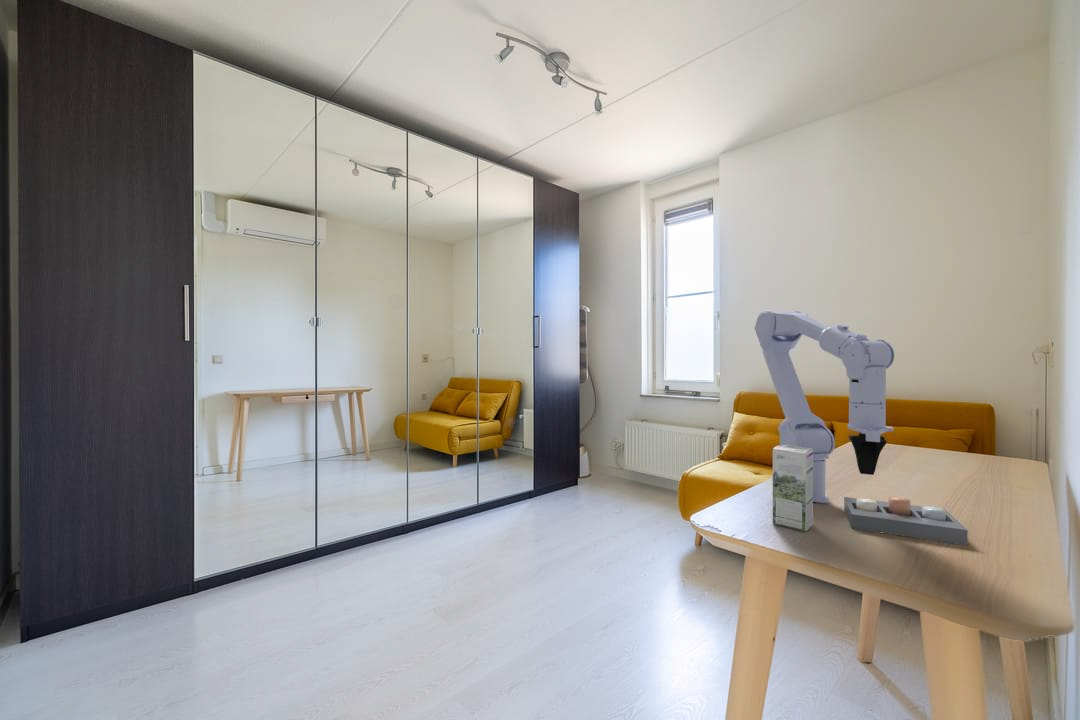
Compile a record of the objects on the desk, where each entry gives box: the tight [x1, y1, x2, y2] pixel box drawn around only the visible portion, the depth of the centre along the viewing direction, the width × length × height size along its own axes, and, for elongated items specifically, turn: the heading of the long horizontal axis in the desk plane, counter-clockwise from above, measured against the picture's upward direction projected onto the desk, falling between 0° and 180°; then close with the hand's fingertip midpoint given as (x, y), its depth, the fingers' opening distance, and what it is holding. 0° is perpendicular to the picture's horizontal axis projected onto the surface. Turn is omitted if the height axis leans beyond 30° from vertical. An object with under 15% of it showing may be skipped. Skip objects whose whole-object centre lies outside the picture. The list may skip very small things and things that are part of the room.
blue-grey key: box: [922, 505, 947, 521], centre depth 82 cm, size 3×3×3 cm
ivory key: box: [856, 497, 877, 512], centre depth 87 cm, size 3×3×3 cm
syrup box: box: [772, 444, 814, 532], centre depth 85 cm, size 6×6×14 cm
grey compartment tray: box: [843, 496, 969, 547], centre depth 85 cm, size 16×12×3 cm
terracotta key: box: [887, 495, 911, 516], centre depth 85 cm, size 3×3×3 cm
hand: (866, 473), depth 87 cm, fingers closed
